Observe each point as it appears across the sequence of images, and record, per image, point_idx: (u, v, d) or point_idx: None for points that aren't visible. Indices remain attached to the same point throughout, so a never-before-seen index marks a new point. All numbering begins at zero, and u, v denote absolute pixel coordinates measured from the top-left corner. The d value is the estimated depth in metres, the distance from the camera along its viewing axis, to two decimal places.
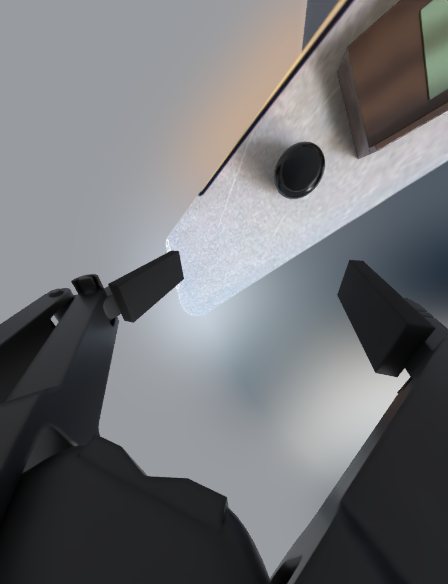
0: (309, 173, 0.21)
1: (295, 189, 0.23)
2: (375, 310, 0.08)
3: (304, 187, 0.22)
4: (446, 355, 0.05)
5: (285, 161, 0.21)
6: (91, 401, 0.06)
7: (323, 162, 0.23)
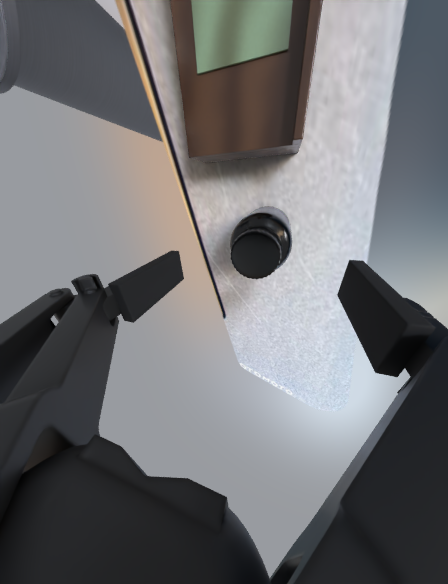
0: (265, 248, 0.15)
1: (272, 269, 0.16)
2: (375, 310, 0.08)
3: (278, 259, 0.15)
4: (446, 355, 0.05)
5: (236, 266, 0.17)
6: (91, 401, 0.06)
7: (267, 217, 0.17)
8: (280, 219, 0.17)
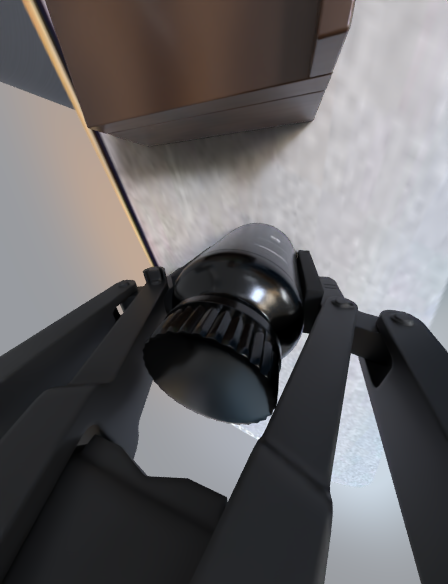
0: (230, 378, 0.05)
1: (254, 419, 0.06)
2: (301, 286, 0.10)
3: (267, 408, 0.05)
4: (326, 310, 0.07)
5: (165, 389, 0.07)
6: (136, 396, 0.06)
7: (242, 268, 0.06)
8: (276, 271, 0.07)
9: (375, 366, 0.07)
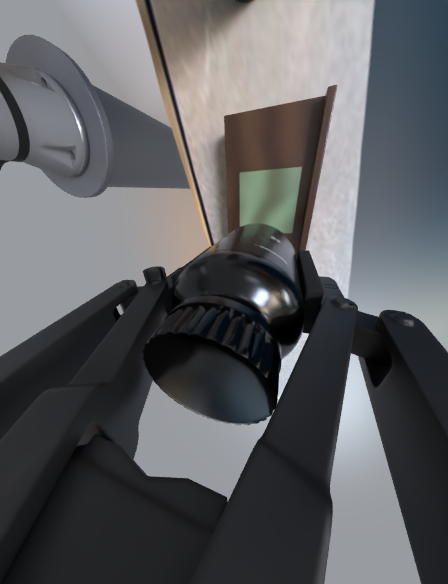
0: (230, 378, 0.05)
1: (254, 420, 0.06)
2: (301, 285, 0.10)
3: (267, 408, 0.05)
4: (326, 310, 0.07)
5: (165, 390, 0.07)
6: (136, 396, 0.06)
7: (243, 269, 0.06)
8: (276, 271, 0.07)
9: (375, 367, 0.07)
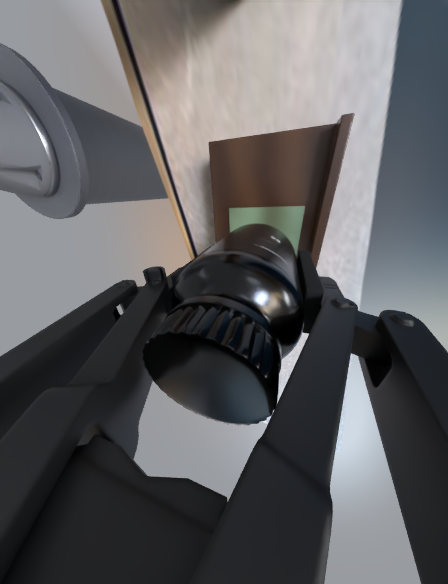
0: (230, 378, 0.05)
1: (254, 420, 0.06)
2: (301, 286, 0.10)
3: (267, 408, 0.05)
4: (326, 310, 0.07)
5: (164, 390, 0.07)
6: (136, 396, 0.06)
7: (242, 268, 0.06)
8: (276, 271, 0.07)
9: (375, 366, 0.07)
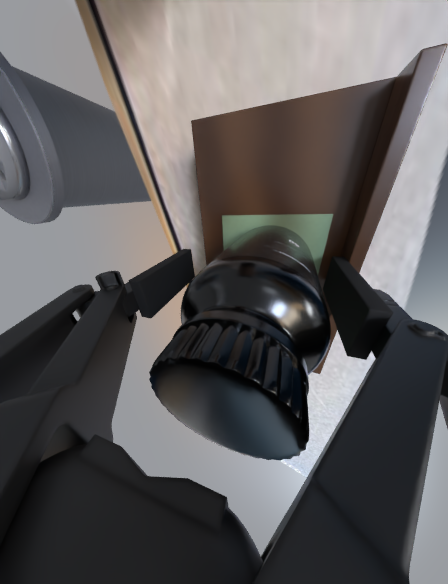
0: (252, 413, 0.04)
1: (276, 457, 0.05)
2: (348, 300, 0.08)
3: (296, 449, 0.04)
4: (400, 336, 0.06)
5: (173, 413, 0.06)
6: (106, 397, 0.06)
7: (263, 279, 0.06)
8: (302, 282, 0.06)
9: None
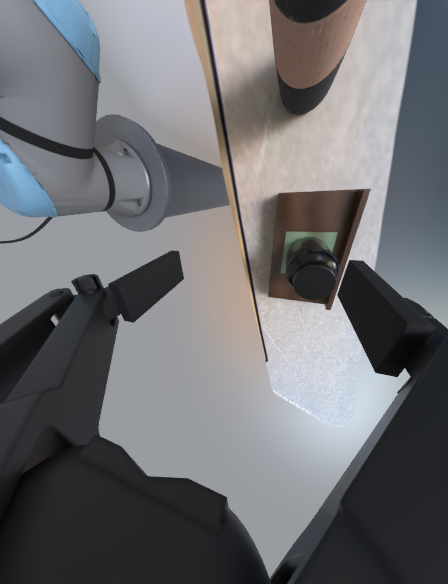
0: (324, 278, 0.20)
1: (327, 294, 0.21)
2: (375, 310, 0.08)
3: (333, 287, 0.20)
4: (446, 355, 0.05)
5: (296, 290, 0.22)
6: (91, 401, 0.06)
7: (322, 253, 0.22)
8: (331, 254, 0.22)
9: None
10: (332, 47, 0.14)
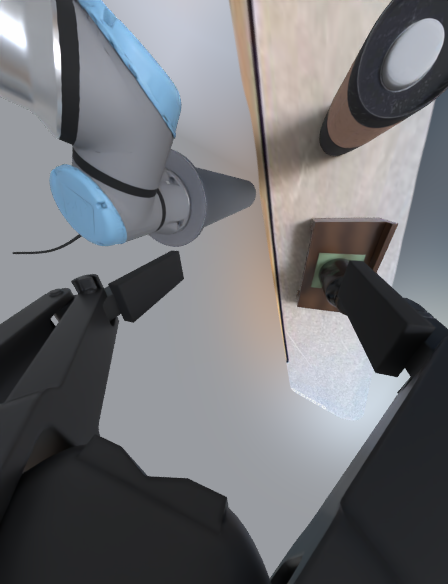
0: None
1: None
2: (375, 310, 0.08)
3: None
4: (446, 355, 0.05)
5: (339, 308, 0.27)
6: (91, 401, 0.06)
7: None
8: None
9: None
10: (383, 132, 0.19)
